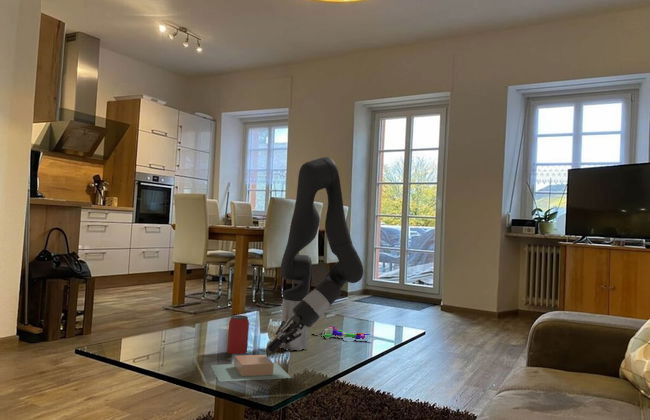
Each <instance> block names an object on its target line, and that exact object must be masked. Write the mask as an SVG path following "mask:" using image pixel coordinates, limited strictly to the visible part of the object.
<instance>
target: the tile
mask: <svg viewBox="0 0 650 420" xmlns="http://www.w3.org/2000/svg"><path fill="white" fill-rule="evenodd" d="M233 364H234V367H235V368H236V370H237V371H238V372H239V374H240V375H241V376H242V377H243V376H263V375H273V367H274V362H273V361H272V360H271V359H270V358H269V357H268V356H267V355H266V354H250V355H249V354H247V355H246V354H239V355H234V359H233Z"/></svg>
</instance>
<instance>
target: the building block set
mask: <svg viewBox="0 0 650 420" xmlns="http://www.w3.org/2000/svg"><path fill="white" fill-rule="evenodd" d="M343 331H344V330H343V329H336V327H335V326H332V325H331V326H328V327H327V328H325V329H324V332H325V335H324V337H331V336H332V335H335V336H336V335H337V336H344V337H352V338H355V339H360V338H362V339H364V338H365V335H370V334H369V333H366V332H361V333H357V334H354V333H353V334H351V333H345V332H343ZM370 336H371V335H370ZM324 337H323V338H324Z"/></svg>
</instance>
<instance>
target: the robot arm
mask: <svg viewBox="0 0 650 420" xmlns="http://www.w3.org/2000/svg"><path fill="white" fill-rule="evenodd" d="M338 169H339V168H338V167H337V164H336V163H335V161H334V159H332V158H331V157H329V156H324V157H320V158H317V159H312V160H310V161H307V162H304V163H303V164H302V165H301V166H300V168H299V172H298V177H297V178H298V179H297V189H296V199H295V202H294V204H295V205H294V210H293V214H292V217H291V222H290V226H289V233H288V239H287V242H286V246H285V249H284V253H283V256H282V259H281V264H280V276H281V278H282V279H284V280H287V281H299V283H298V284H297V285H296V286H294V287H292V288H289V289H286V290H284V291H283V292H282V303H281V304H282V305H281V319H280V321H281V322H280V325H279V326H278V328H277V330H276V332H275V338H274V339H273V340H272V341H271V342H270V343H269V344H268V345H267V346H266V348H267V350H268V351H269V352H270V353H272V354H274V352H276V351H277V350H278V349H279V348H280V347H281V348H284V349H283V350H285V349H290V350H289V351H293V350H297V351H303V350H302V349H304V350H308V339H309V328H312V326H313V325H314V324H315V323H316V322H317V321H318V320H319V319H320V318H321V317H322V316H323V315H324V314H325V313H326V312H327V311H328V309H329V308H330V306H332V305H333V304H334V302H335V301H336V300H337V299H338V298H339V297H340V296H341V295H342V287H344V286H345V284H346V283H350V284H356V283H358V282H360V281H361V280H362V278H363V276H364V265H363V263H362V260H361V258H360V255H359V254H358V252H357V250H356V248H355V247H354V245H353V241H352V238H351V237H352V236H351V234H350V231H349V227H348V223H347V220H346V215H345V207H344V202H343V201H344V200H343V193H342V186H341V185H342V184H341V179H340V178H341V177H340V173H339V170H338ZM323 189H325V191H326V195H327V209H326V215H325V222H324V223H325V225H324V227H325V229H324V230H325V233H326V239H327V241H328V245H329V248H330V251H331V253H332V254H333V255H335V257H336V258H337V262H336V263H335V264H334V265H332V267H331V269H330V270H329V271H328V272H327V274H326V275H325V277H324V279H323V280H322V281H321V282H319V284H317V286H315V288H314V289H313V290H311V291H310V286H311V285H310V284H311V276H312V268H313V267H312V266H313V265H312V264H313V263H312V258H311V257H310V256H309V255H307V254H306V255H305V254H299V252H301V251H302V250H303V249H304V248H306V247H308V246H309V244H311V243H312V242H313V241H314V239H315V238H316V237H317V234H318V230H319V227H320V224H321V223H320V221H321V218H320V214H319V212H318V210H317V208H316V206H315V203H314V202H315V197H316V194H317V193H318V192H319V191H321V190H323ZM281 348H280V349H281Z"/></svg>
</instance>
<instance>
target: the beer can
mask: <svg viewBox="0 0 650 420" xmlns="http://www.w3.org/2000/svg"><path fill="white" fill-rule="evenodd" d="M227 330H228V331H227V332H228V334H227V342H226V343H227V347H226V353H227V354H228V355H246V354H247V353H248V344H249V343H248V342H249V330H250V322H249V317H248V316H247V315H239V314H238V315H231V317H230V320H229V322H228V329H227Z"/></svg>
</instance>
